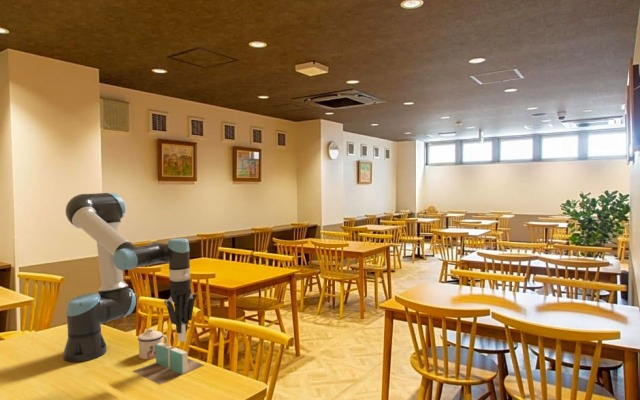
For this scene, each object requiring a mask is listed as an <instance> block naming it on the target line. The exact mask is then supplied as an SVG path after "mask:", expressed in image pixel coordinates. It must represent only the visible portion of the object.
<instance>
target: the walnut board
mask: <svg viewBox="0 0 640 400" xmlns="http://www.w3.org/2000/svg"><path fill="white" fill-rule="evenodd" d="M201 367H205V364H203V363H200V362H197V361H194V360H192V359H190V358H188V372H186V373H183V374H180V373H178V372H176V371H173V370H171V369H170V367H164V366H162V365H160V364H158V363H156V361H155V362H152V363H151V364H148V365H145V366H142V367H139V368H137V369H135V370H133V372H134V373H135V374H138V375H139V376H142V377H144V378H146V379H148V380H150V381H152V382H154V383H155V384H158V385H162V384H164V383H167V382H169V381H171V380H174V379H176V378H178V377H181V376H183V375H186V374H188V373H190V372H193V371H195V370H197V369H199V368H201Z"/></svg>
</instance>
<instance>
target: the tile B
mask: <svg viewBox="0 0 640 400" xmlns="http://www.w3.org/2000/svg"><path fill="white" fill-rule="evenodd" d="M188 359H189V358H188V351H185V350H183V349H180V348H178V347H173V349H171V350H170V369H171V370H173V371H176V372H178V373H180V374H183V373H186V372H188ZM188 373H189V372H188ZM186 374H187V373H186ZM183 375H184V374H183Z"/></svg>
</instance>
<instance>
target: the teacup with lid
mask: <svg viewBox="0 0 640 400" xmlns="http://www.w3.org/2000/svg"><path fill="white" fill-rule="evenodd" d="M163 339H164V342H163ZM137 340H138V357H139V358H140V359H144V360H151V359H156V344H158V343H161V342H162V343H165V344H167V345H168V337H167V336H166V335H164V334H163V332H161V331H159V330H158V331H157V330H154V329H153V328H152V327H150V328H148V329H147V330H146V331H145V332H143V333H140V334H139V335H138V337H137Z"/></svg>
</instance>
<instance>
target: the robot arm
mask: <svg viewBox="0 0 640 400" xmlns="http://www.w3.org/2000/svg"><path fill="white" fill-rule="evenodd" d="M125 214H126V204H125V201H124V200H123V198H122V196H121V197H120V195H118V194H117V193H110V192H103V193H102V192H101V193H98V192H97V193H80V194H77V195H75V196H73V197H72V198H71V199H70V200H69V201H68V202H67V204H66V206H65V216H66V218H67V220H68V221H69V223H70V224H71V225H72V226H74V227H75V228H77V229H82V230H83V231H84V232H85V234H87V235H88V236H90V237H91V238H92V239H93V240H94V241H95V242H96V248H97V249H96V250H97V256H98V257H97V258H98V265H99V273H100V274H99V275H100V283H101V285H100V287H99V288H98V289H97V292H98V293H97V292H88V293H83V294H81V295H77V296H74V297H73V298H71V299H70V300H68V302H67V305H66V312H65V313H66V321H67V323H66V324H67V341H66V343H65V347H64V350H63V357H62V358H63V361H65V362H69V363H70V362H71V363H78V362H87V361H90V360H93V359H97V358H99V357H101V356H103V355H104V354H105V353H106V352H107V343H106V342H105V339H104V336H103V334H102V325H103V324H105V323H108V322H111V321H114V320H117V319H122V318H123V319H124V317H126V316H129V315H130V314H132V313H133V311H134V310H135V307H136V304H137V302H136V301H137V298H136V294H135V293H134V291H133V289H131V288H129V284H128V283H126V282H125V281H124V272H123V271H127V270H133V269H136V268H140V267H145V266H150V265H156V264H160V263H162V264H163V263H165V264H168V273H169V274H168V277H169V278H168V279H169V280H170V281H169V290H170V294H169V298H168V299H166V300H164V301H163V303H164V305H165V306H166V309H167V312H168V317H169V320H170V323H171V324H172V325H175V331H176V333H177V336H178V337H177V340H178V342H182V343H183V342H186V341H187V336H186V335H187V334H186V333H187V331H188V324H189V321H191V320H192V317H193V310H194V306H195V301H196V298H197V294H195V293H192V291H191V287H192V286H191V279H190V278H191V264H190V258H191V257H190V251H191V250H190V244H189V243H190V242H189V240H188V239H187V238H185V237H184V238H183V237H181V238H180V237H179V238H171V239H169V240H168V241H167V242H166V243H165V242H150V243H149V244H146V245H139V246H136V245H135V244H133V242H131V241H130V240H128V239H127V238H126V237H125V236H124V235H122V234H121V233H120V232H119V228H118V227H119V225H120V224H121V223H122V222H121V220H122V219H123V218H124V216H125Z"/></svg>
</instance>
